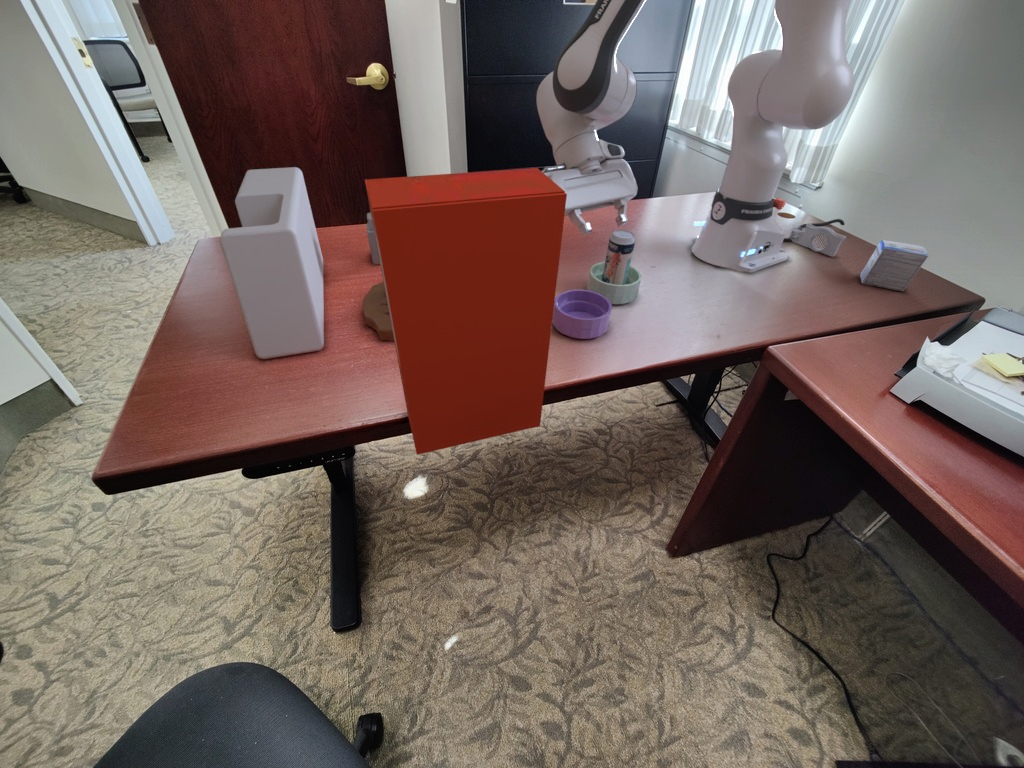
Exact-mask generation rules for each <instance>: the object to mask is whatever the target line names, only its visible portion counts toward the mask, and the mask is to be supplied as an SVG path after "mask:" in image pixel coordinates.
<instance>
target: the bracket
mask: <svg viewBox="0 0 1024 768" xmlns="http://www.w3.org/2000/svg"><path fill="white" fill-rule="evenodd" d="M234 204H235V207H236V210H237V214H238V218H239V220H240V225H241V227H229V228H225V229H223V231H222V232H221V234H220V236H219V245H220V248H221V251H222V254H223V257H224V260H225V263H226V267H227V269H228V273H229V275H230V279H231V282H232V285H233V288H234V291H235V294H236V297H237V300H238V304H239V307H240V310H241V313H242V317H243V319H244V322H245V325H246V328H247V332H248V335H249V338H250V341H251V345H252V348H253V350H254V353H255V356H256V357H257V358H259V359H261V360H269V359H275V358H281V357H287V356H294V355H301V354H306V353H314V352H318V351H319V352H320V351H321V350H322V349H324V347H325V323H324V322H325V310H324V309H325V308H324V307H325V306H324V304H325V301H324V299H325V298H324V293H325V292H324V258H323V257H324V256H323V254H322V253H323V252H322V249H321V245H320V241H319V237H318V233H317V228H316V224H315V220H314V215H313V211H312V208H311V207H312V206H311V204H310V199H309V195H308V190H307V186H306V182H305V177H304V174H303V171H302V170H301V169H300V168H299V167H296V166H293V167H292V166H291V167H276V168H275V167H273V168H257V169H248V170H247V171H246V172H245V175H244V177H243V179H242V182H241V184H240V186H239V189H238V192H237V194H236V196H235V199H234Z"/></svg>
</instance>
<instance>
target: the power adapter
mask: <svg viewBox="0 0 1024 768" xmlns="http://www.w3.org/2000/svg"><path fill="white" fill-rule="evenodd" d="M369 211H370V210H369ZM366 218H367V219H366V220H367V223H366V234H367V235H366V236H367V239H368V244H369V249H370V254H371V255H370V256H371V260H372V264H373V265H380V260H379V255H378V249H377V244H376V238H375V233H374V228H373V222H372V217H371V211H370V212H367V213H366Z"/></svg>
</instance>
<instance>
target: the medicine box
mask: <svg viewBox="0 0 1024 768" xmlns="http://www.w3.org/2000/svg"><path fill="white" fill-rule="evenodd" d="M928 258H929V253H928V251H927V250H926V248H925V246H921V245H916V244H909V243H904V242H899V241H898V242H897V241H893V240H892V241H891V240H885V239H881V240H880V242H879V244H877V247H876V248H875V250H874V251H873V253H872V255H871V256H870V258H869V259H868V261H867V262H866V264H865V266H864V268H863V269H862V270H861V272H860V274H859V277H860V281H861V284H863V285H867V286H871V287H877V288H883V289H887V290H893V291H898V292H904V291H905V290H906V288H907V287H908V286H909V284H910V283H911V281H912V280H913V279H914V277H915V275H916V274H917V273H918V272H919V270H920V269H921V267H922V266H923V265H924V263H925V261H926V260H927V259H928Z"/></svg>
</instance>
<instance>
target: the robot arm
mask: <svg viewBox="0 0 1024 768" xmlns="http://www.w3.org/2000/svg"><path fill="white" fill-rule="evenodd" d="M646 1H647V0H596V1H595V4H594V5H593V7H592V9H591V10H590V11H589V14H588V15H587V17H586V19H585V20H584V22H583V23H582V25H581V27H580V28H579V29H578V30H577V32H576V33H575V34H574V35H573V36H572V38H571V39H570V40H569V41H568V42H567V43H566V44H565V46H564V47H563V48H562V49H561V51H560V53H559V54H558V57H557V59H556V61H555V63H554V68H553V70H552V71H551V72H550V73H548V74H547V75H546V76H545V77H544V78H543V80H542V81H541V82H540V84H539V85H538V88H537V90H536V97H535V100H536V108H537V112H538V116H539V120H540V123H541V126H542V129H543V132H544V135H545V137H546V139H547V141H548V142H549V143H550V145H551V148H552V156H553V158H554V161H555V164H556V165H552V166H550V165H549V166H545V167H543V169H542V170H541V172H543V173H544V174H545V175H546V176H547V177H549V178H550V179H551V180H552V181H553V182H554V183H556V184H557V185H558V186H559V187H560V188H562V189H563V190H564V191H565V193H566V194H567V197H566V206H565V215H564V217H568V219H569V221H570V223H573V225H574V226H576V228H578V231H579V233H580V235H581V236H582V237H583V236H586V235H589V234H591V233H592V232H593V227H592V225H591V223H590V222H589V221H588V222H586V221H585V219H584V218H583V216H581V215H582V213H585V212H590V211H594V210H599V209H605V208H607V207H614V209H615V211H617V216H616V217H615V218H614V221H615V222H616V225H617V227H621V226H625V225H627V224H628V223H629V218H628V216H627V211H628V202H629V201H631V200H632V199H634V198H635V197H636V196H637V194H638V190H639V188H638V184H637V180H636V178H635V175H634V173H633V170H632V168H631V166H630V164H629V163H628V162H627V161H626V160H625V159H623V158H624V157H625V155H626V153H625V150H624V148H623V146H622V145H618V144H615V143H611V142H608V141H605V140H603V139H599V137H598V134H597V131H600V130H603V129H605V128H606V127H609V126H611V125H613V124H615V123H616V122H618V121H620V120H621V119H622V118H624V117H625V116H626V115H627V114H628V113H629V112H630V111H631V109H632V108H633V105H634V103H635V100H636V97H637V93H638V82H637V78H636V75H635V73H634V71H632V69H630V67H628V66H627V65H626V64H625V63H624V62H623V61H622V60H620V59H619V58H617V57H616V54H617V50H618V47H619V45H620V43H621V42H622V40H623V39H624V37H625V35H626V33H627V32H628V30H629V29H630V27H631V25H632V24H633V22H634V20H635V19H636V17H637V16H638V14H639V12H640V11H641V10H642V8H643V6H644V4H645V2H646ZM850 1H851V0H775V1H774V6H773V7H774V8H773V11H774V17H775V19H776V21H777V23H778V25H779V28H780V35H781V49H776V48H774V49H766V50H759V51H755V52H752V53H750V54H748V55H746V56H745V57H743V58H742V59H741V60H740V61H739V62H738V63H737V65H736V66H735V67H734V68H733V71H732V72H731V75H730V76H729V79H728V83H727V98H728V100H729V103H730V105H731V112H732V137H731V138H732V139H731V145H730V152H729V156H728V159H727V163H726V166H725V170H724V173H723V175H722V179H721V182H720V186H719V188H717V189H716V191H715V194H714V196H713V200H712V203H711V210H710V211H709V212H708V215H707V217H706V219H705V220H704V221H693V226H694V227H696V226H697V227H698V226H702V227H701V230H700V232H699V234H698V235H697V236H696V238H695V240H694V244H693V246H692V247H691V253H692V254H693V255H694V256H695V257H696V258H698V259H699V260H702V261H703V262H705V263H707V264H709V265H713V266H717V267H721V268H726V269H732V270H737V271H740V272H744V273H749V274H750V273H754V272H757V271H759V270H763V269H766V268H768V267H771V266H774V265H777V264H780V263H783V262H785V261H787V260H788V258H789V254H788V252H786V251H785V250H784V249H783V248H781V247H782V245H783V243H793V242H792V240H791V239H790V238H789V237H787V238H786V237H785V231H784V229H783V228H782V227H781V226H780V224H779V223H778V221H777V220H776V219H775V217H774V216H773V212H774V208H775V209H776V210H778V211H781V210H782V209H783V208H785V206H786V204H787V203H786V200H784V199H781V197H777V198H774V195H775V193H776V191H777V189H778V186H779V184H780V182H781V179H782V176H783V174H784V172H785V170H786V167H787V165H788V153H787V150H786V147H785V145H784V139H783V132H784V128H788V129H789V130H798V131H799V130H801V131H807V130H808V131H810V130H811V131H813V130H819V129H822V128H825V127H826V126H828V125H830V124H831V123H832V122H834V121H835V120H836V119H837V118H838V117H839V116H840V115H841V114H842V113H843V111H845V109H846V107H848V104H849V102H850V100H851V98H852V96H853V92H854V89H855V74H854V72H853V69H852V68H851V66H850V64H849V61H848V58H847V51H846V27H847V25H846V24H847V17H848V11H849V5H850ZM844 221H845V220H843V219H841V218H836V219H832V220H829V221H825V222H824V221H823V222H819V223H818V222H817V223H815V222H814V223H810V224H811V225H813V226H816V227H824V226H825V227H826V226H829V225H831V224H835V223H839V224H840V226H845V222H844ZM807 224H808V223H803V224H800V225H798V227H797V229H798V230H800V231H803V232H804V230H803V229H804V228H806V225H807ZM798 236H799V235H798ZM798 236H797V237H798ZM797 237H794V238H792V239H796V238H797ZM799 237H800V236H799ZM797 239H798V238H797Z"/></svg>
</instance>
